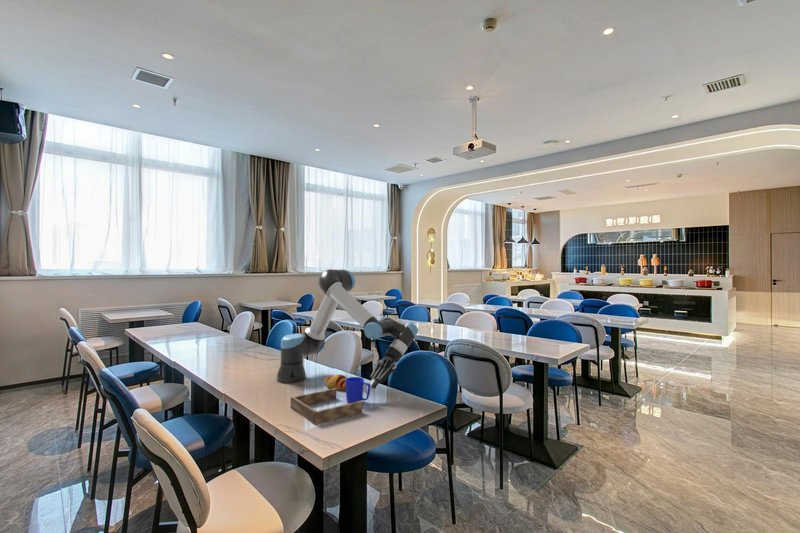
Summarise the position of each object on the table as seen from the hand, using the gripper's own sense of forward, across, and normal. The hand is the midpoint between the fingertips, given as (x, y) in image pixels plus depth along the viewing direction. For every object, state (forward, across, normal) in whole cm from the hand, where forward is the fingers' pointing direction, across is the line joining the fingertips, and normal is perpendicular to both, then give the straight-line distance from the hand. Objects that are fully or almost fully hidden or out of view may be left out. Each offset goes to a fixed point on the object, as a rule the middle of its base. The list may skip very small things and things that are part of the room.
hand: (366, 393), depth 169 cm
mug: (+5, +2, 0) cm, 6 cm away
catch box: (+16, +2, +11) cm, 19 cm away
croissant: (+2, +27, -4) cm, 27 cm away
